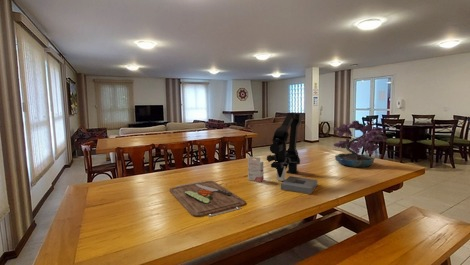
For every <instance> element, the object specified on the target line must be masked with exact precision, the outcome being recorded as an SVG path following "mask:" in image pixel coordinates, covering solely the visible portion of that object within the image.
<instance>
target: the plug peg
mask: <svg viewBox="0 0 470 265" xmlns="http://www.w3.org/2000/svg"><path fill="white" fill-rule="evenodd" d="M285 167H286V166H284V170H283V173H282V176H281V177H279V175H278V172H277V171H276V180H277V181H280V182H281V181H283V182H284V181H285V180H286V170H285Z"/></svg>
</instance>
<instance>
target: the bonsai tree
mask: <svg viewBox="0 0 470 265" xmlns="http://www.w3.org/2000/svg"><path fill="white" fill-rule="evenodd" d="M351 129H354V130H355V131H360V132H361V133H362V135H359V136H358V137H355V138H354V139H352V140H350V138H351V137H352V136H353V134H352V130H351ZM333 130H335V131H336V132H337V133H336V135H337V137H340V138H341V137H342V136H344V135H345V134H348V136H349V137H350V138H346V139H345V140H339V141H338V142H336V143H333V147H335V148H336V147H337V148H338V149H339V148H341V149H345V150H347V151H348V152H349V153H339V154H336V155H335V156H334V157H335V161H336V162H338V164H340V165H341V166H345V167H351V168H368V167H370V166H371V165H372V164H373V163H374V162H375V159H376V158H375V157H372V156H369V155H373V154H374V153H375V151H376V150H377V149H379V148H380V146H379V144H377V143H376V144H375V143H373V142H383V143H385V142H387V141H388V137H387V136H383V134H384V133H385V132H384V128H383V127H380V126H376V127H373V128H372V125H371V124H366V125H364V123H360V121H359V120H353V121H351V122H350V123H347V124H345V123H343V124H342V125H340V126H339V127H338V126H334V127H333ZM381 135H382V136H381ZM360 149H364V150H365V151H367V154H369V155H367V154H360V152H361V151H360Z"/></svg>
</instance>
